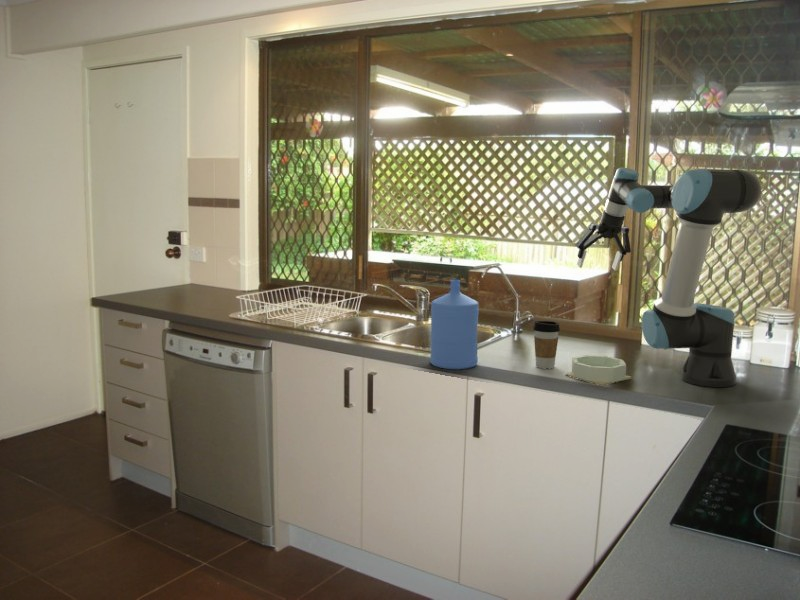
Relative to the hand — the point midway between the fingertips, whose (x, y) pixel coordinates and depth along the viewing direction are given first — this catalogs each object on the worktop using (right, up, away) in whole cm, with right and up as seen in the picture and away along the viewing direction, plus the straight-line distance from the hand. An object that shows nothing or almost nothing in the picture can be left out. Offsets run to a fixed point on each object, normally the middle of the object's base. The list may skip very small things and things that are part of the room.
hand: (596, 267), depth 245 cm
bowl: (-10, -36, -34) cm, 50 cm away
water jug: (-53, -33, -19) cm, 65 cm away
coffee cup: (-23, -34, -22) cm, 47 cm away
